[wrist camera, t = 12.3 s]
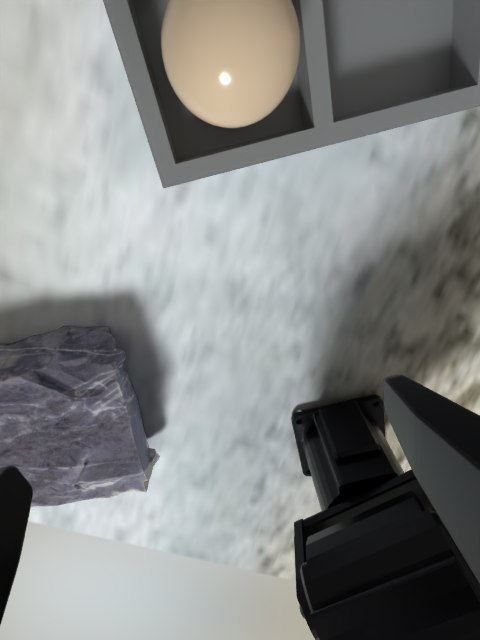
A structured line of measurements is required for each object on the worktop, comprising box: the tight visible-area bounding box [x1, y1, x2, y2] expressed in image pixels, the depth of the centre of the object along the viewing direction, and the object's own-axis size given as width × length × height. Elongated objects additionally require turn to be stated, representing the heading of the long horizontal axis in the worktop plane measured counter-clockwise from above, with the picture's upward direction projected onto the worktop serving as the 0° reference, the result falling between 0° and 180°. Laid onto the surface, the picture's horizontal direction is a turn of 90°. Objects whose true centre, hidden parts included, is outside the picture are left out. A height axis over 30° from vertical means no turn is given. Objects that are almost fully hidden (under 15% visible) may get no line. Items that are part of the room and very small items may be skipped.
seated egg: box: [161, 0, 300, 128], centre depth 13 cm, size 4×4×7 cm
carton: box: [103, 0, 480, 188], centre depth 15 cm, size 8×21×2 cm, turn 103°
